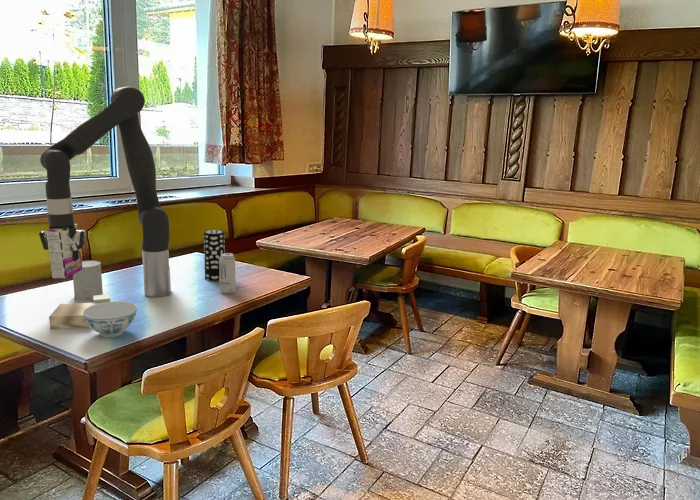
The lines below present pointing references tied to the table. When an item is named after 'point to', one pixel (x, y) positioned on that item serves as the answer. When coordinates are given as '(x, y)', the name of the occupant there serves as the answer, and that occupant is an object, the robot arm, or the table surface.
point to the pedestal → (69, 316)
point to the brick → (101, 298)
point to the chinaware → (110, 317)
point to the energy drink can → (227, 273)
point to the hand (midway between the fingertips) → (65, 260)
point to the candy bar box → (62, 253)
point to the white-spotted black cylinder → (213, 253)
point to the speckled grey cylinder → (88, 281)
